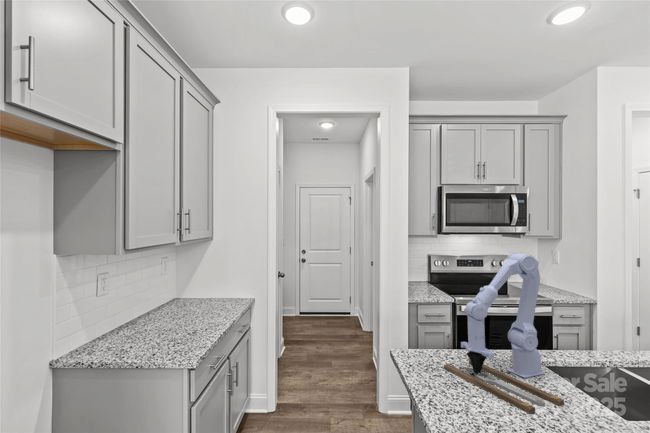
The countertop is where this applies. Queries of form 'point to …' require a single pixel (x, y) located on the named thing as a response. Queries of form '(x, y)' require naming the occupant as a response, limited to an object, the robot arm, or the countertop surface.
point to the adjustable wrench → (510, 388)
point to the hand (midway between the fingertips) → (477, 372)
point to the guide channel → (503, 395)
